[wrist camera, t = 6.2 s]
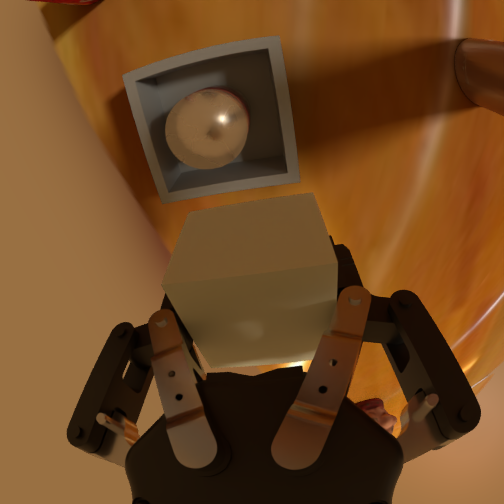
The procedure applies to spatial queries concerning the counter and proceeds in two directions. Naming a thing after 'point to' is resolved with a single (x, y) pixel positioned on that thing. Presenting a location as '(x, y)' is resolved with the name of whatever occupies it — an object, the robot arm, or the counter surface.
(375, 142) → the counter surface
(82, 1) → the soda can
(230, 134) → the tan rounded piece
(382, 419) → the brown clay jug
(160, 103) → the box
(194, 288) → the plain beige box
